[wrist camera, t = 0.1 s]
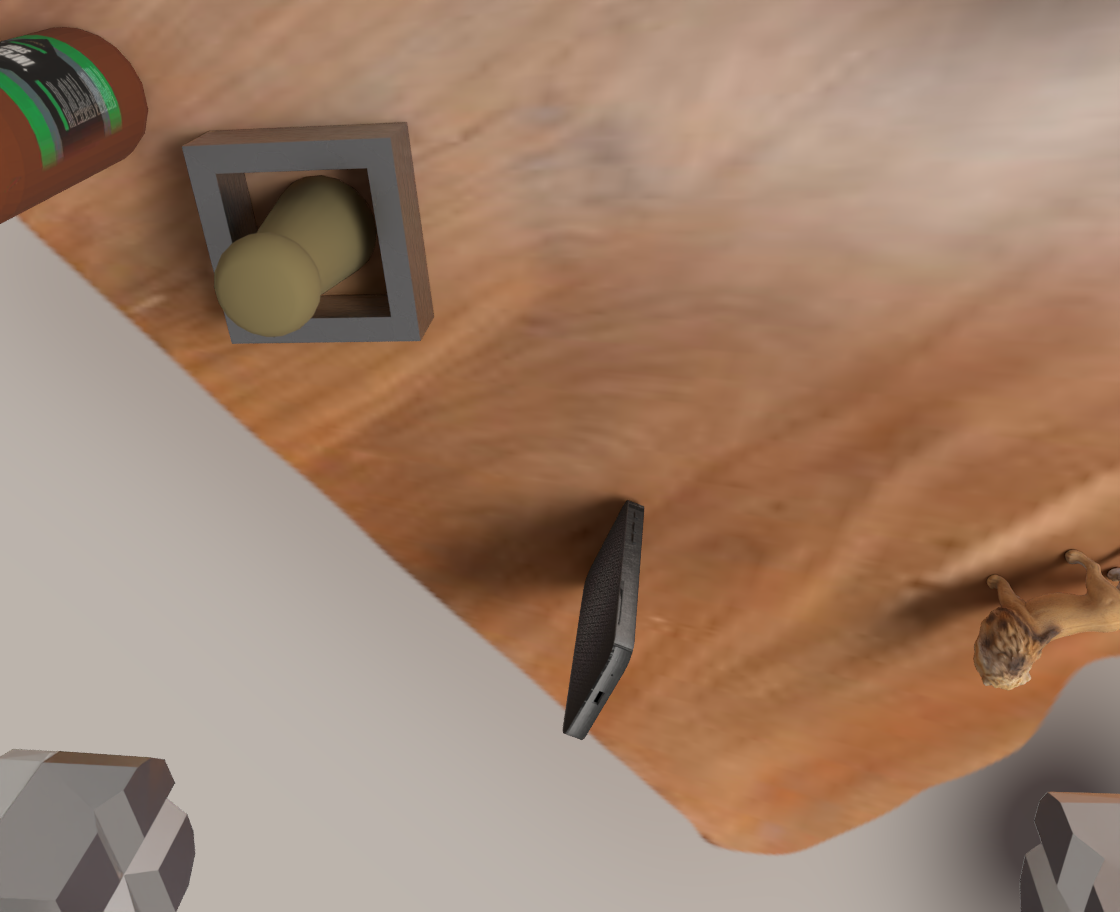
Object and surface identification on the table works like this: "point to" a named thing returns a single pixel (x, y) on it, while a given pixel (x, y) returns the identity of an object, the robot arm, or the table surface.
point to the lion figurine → (1041, 623)
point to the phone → (605, 622)
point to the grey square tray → (372, 146)
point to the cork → (295, 256)
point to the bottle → (63, 113)
